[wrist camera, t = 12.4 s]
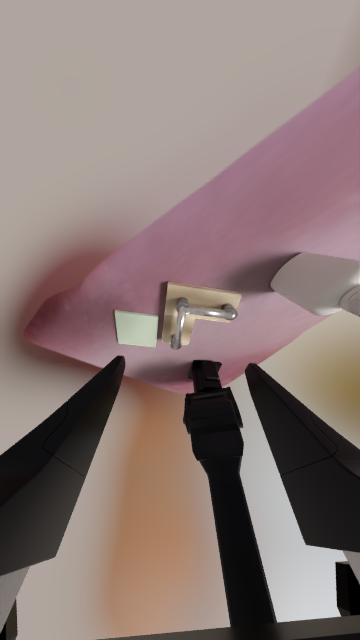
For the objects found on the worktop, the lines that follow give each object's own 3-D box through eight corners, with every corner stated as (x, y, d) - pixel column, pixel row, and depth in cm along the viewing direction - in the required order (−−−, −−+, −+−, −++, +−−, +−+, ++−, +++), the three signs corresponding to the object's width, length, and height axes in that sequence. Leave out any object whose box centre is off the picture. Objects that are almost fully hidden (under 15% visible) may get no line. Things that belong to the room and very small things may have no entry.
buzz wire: (217, 344, 27) (222, 359, 23) (162, 338, 26) (159, 353, 22) (239, 292, 21) (250, 302, 18) (168, 281, 20) (166, 290, 16)
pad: (156, 345, 27) (155, 347, 26) (119, 341, 26) (118, 343, 25) (158, 315, 23) (158, 317, 22) (116, 309, 22) (114, 311, 22)
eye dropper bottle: (310, 277, 20) (449, 323, 10) (270, 294, 21) (355, 351, 11) (310, 247, 18) (488, 267, 7) (265, 269, 19) (365, 310, 9)
